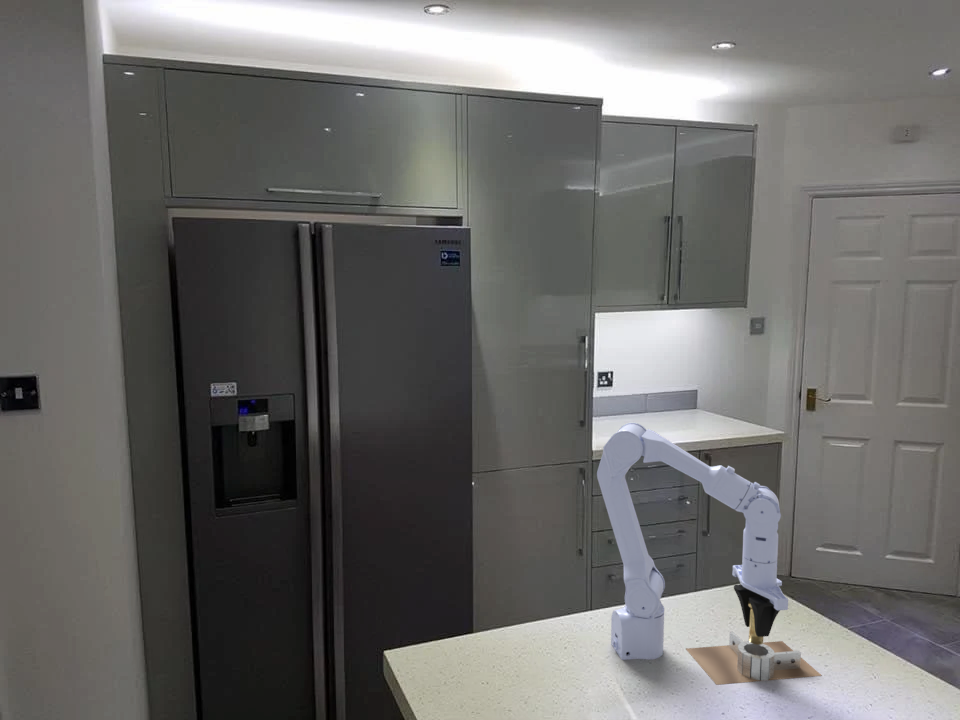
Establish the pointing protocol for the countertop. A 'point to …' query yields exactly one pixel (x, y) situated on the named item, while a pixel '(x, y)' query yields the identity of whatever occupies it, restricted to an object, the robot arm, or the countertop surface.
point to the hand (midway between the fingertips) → (756, 630)
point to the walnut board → (724, 662)
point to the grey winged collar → (761, 659)
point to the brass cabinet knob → (753, 629)
